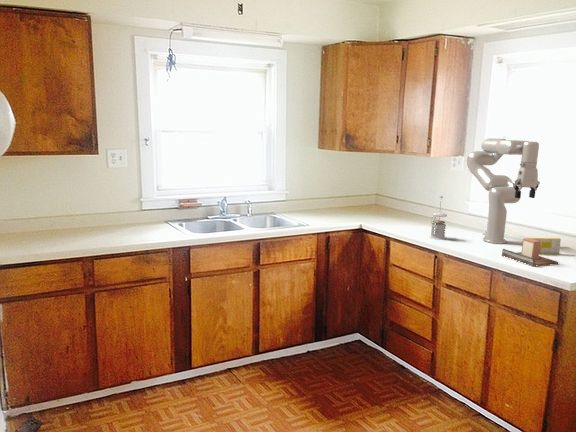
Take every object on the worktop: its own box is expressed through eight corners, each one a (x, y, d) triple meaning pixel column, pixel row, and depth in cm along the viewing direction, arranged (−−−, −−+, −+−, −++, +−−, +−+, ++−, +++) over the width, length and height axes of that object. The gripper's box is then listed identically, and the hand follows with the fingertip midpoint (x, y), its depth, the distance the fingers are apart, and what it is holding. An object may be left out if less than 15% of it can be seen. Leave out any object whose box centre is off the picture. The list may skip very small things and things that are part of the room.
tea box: (532, 259, 246) (534, 241, 245) (520, 256, 253) (523, 238, 251) (538, 259, 248) (540, 241, 246) (527, 255, 254) (529, 238, 253)
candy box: (557, 253, 267) (559, 238, 265) (559, 254, 265) (561, 238, 263) (527, 252, 266) (529, 237, 264) (529, 253, 264) (531, 238, 262)
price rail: (502, 253, 257) (502, 248, 256) (503, 253, 257) (503, 248, 257) (533, 264, 238) (533, 259, 238) (534, 263, 239) (535, 259, 238)
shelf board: (501, 255, 257) (501, 253, 257) (525, 253, 262) (526, 251, 262) (532, 266, 238) (533, 264, 238) (558, 264, 244) (558, 261, 244)
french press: (434, 240, 288) (438, 196, 284) (424, 235, 299) (427, 193, 295) (449, 239, 291) (453, 196, 286) (438, 235, 302) (442, 193, 297)
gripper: (521, 166, 256) (517, 199, 259) (547, 166, 262) (542, 198, 265) (510, 164, 263) (506, 197, 266) (535, 164, 269) (531, 196, 272)
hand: (524, 197), depth 266 cm, fingers open, 9 cm apart
